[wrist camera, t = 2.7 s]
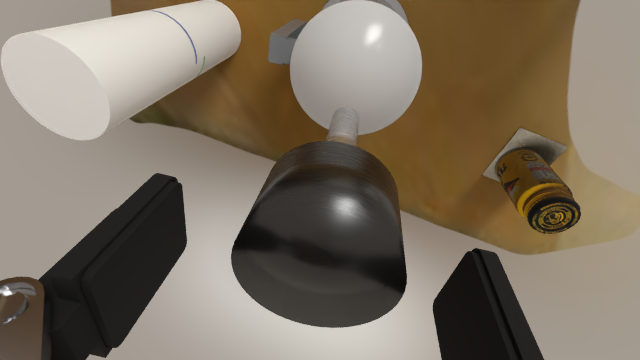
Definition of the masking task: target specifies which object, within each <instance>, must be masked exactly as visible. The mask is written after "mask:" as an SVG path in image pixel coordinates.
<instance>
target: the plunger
mask: <svg viewBox="0 0 640 360" xmlns="http://www.w3.org/2000/svg"><path fill="white" fill-rule="evenodd" d="M358 130H359V115H358V113H357V112H356V111H355V110H354V109H353V108H351V107H341V108H338V109H337V110H336V111H335V112H334V113H333V116H332V119H331V123H330V127H329V130H328V134H327V137H326V141H318V142H312V143H307V144H304V145H301V146H298V147H296V148H294V149H292V150H290V151H289V152H287V153H286V154H284V155H283V156H282V157H281V158H280V159H279V160H278V161H277V162H276V164H275V165H274V167H273V168H272V170H271V172H270V174H269V176H268V178H267V179H266V181H265V184H264V185H263V187H262V189H261V191H260V193H259V195H258V197H257V199H256V201H255V203H254V205H253V207H252V209H251V211H250V213H249V215H248V217H247V219H246V221H245V222H244V225H243V227H242V228H241V230H240V232H239V234H238V236H237V238H236V240H235V242H234V245H233V248H232V254H231V260H232V267H233V271H234V274H235V276H236V278H237V280H238V282H239V283H240V285H241V286H242V288H243V289H244V290H245V291H246V293H248V294H249V295H250V296H251V297H252V298H253V299H254V300H255V301H256V302H258V303H259V304H260V305H262V306H263V307H265V308H266V309H268V310H270V311H271V312H273V313H275V314H277V315H279V316H282V317H284V318H286V319H289V320H292V321H295V322H299V323H302V324H307V325H311V326H318V327H331V328H334V327H350V326H355V325H361V324H364V323H368V322H371V321H373V320H376V319H378V318H380V317H381V316H383V315H385V314H387V313H388V312H389V311H390V310H392V309H393V308H394V307H395V306H396V305H397V304H398V302H399V301H400V299H401V298H402V296H403V294H404V292H405V288H406V284H407V273H406V264H405V255H404V246H403V236H402V228H401V218H400V208H399V199H398V192H397V187H396V184H395V181H394V179H393V177H392V175H391V173H390V172H389V171H388V169H387V168H386V167H385V166H384V165H383V164H382V162H381V161H380V160H378V159H377V158H376V157H374V156H373V155H372V154H370V153H368V152H367V151H365V150H363V149H361V148H358V147H357V140H358Z"/></svg>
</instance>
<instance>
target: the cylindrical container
mask: <svg viewBox="0 0 640 360" xmlns="http://www.w3.org/2000/svg"><path fill="white" fill-rule="evenodd" d="M240 42H241V29H240V25H239V22H238V20H237V18H236V16H235V15H234V14H233V12H232V11H231V10H230V9H229V8H228V7H227V6H226V5H224V4H223V3H221V2H218V1H216V0H202V1H197V2H191V3H186V4H180V5H175V6H169V7H164V8H158V9H153V10H147V11H142V12H136V13H131V14H125V15H120V16H114V17H109V18H103V19H98V20H93V21H87V22H82V23H76V24H70V25H65V26H59V27H54V28H49V29H43V30H38V31H32V32H27V33H22V34H18V35H15V36H13V37H11V38H10V39H9V40H8V41H7V42H6V43H5V45H4V46H3V48H2V53H1V67H2V71H3V75H4V78H5V80H6V82H7V85H8V87H9V88H10V90H11V92H12V94H13V95H14V97H15V98H16V99H17V101H18V102H19V103H20V104H21V106H22V107H23V108H24V109H25V110H26V111H27V112H28V113H29V114H30V115H31V116H32V117H33V118H35V119H36V120H37V121H38V122H39V123H40V124H42V125H44V126H45V127H46V128H48V129H50V130H51V131H53V132H55V133H57V134H59V135H62V136H64V137H67V138H70V139H75V140H91V139H94V138H96V137H98V136H101V135H102V134H104V133H105V132H107V131H109V130H110V129H112V128H114V127H115V126H117V125H119V124H120V123H122V122H123V121H125V120H127V119H129V118H130V117H132V116H133V115H135V114H137V113H138V112H140V111H142V110H143V109H145V108H147V107H148V106H150V105H152V104H153V103H155V102H156V101H158V100H160V99H161V98H163V97H165V96H166V95H168V94H170V93H171V92H173V91H175V90H176V89H178V88H179V87H181V86H183V85H184V84H186V83H188V82H189V81H191V80H193V79H194V78H196V77H198V76H199V75H201V74H203V73H204V72H206V71H207V70H209V69H211V68H212V67H214V66H216V65H217V64H219V63H221V62H222V61H224V60H226V59H227V58H229V57H230V56H232V55H233V54H234V53H235V52H236V51H237V49H238V48H239V45H240Z"/></svg>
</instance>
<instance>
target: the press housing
mask: <svg viewBox="0 0 640 360" xmlns="http://www.w3.org/2000/svg"><path fill="white" fill-rule="evenodd" d="M268 62H272V63H276V64H280V65H283V64H289V65H290V78H291V83H292V88H293V91H294V94H295V96H296V98H297V100H298V102H299V104H300V105H301V107H302V109H303V110H304V111H305V112H306V114H307V115H308V116H309V117H310V118H311V119H313V120H314V121H315V122H316V123H318V124H319V125H321V126H323V127H324V128H326V129H328V130H329V127H330V123H331V119H332V116H333V113H334V112H335V111H336V110H337V109H338V108H341V107H351V108H353V109H354V110H355V111H356V112H357V113H358V115H359V130H358V135H363V134H368V133H372V132H375V131H378V130H381V129H383V128H385V127H387V126H388V125H390V124H392V123H393V122H394V121H396V120H397V119H398V118H399V117H400V116H401V115H402V114H403V113H404V112H405V111H406V110H407V108H408V107H409V106H410V104H411V103H412V101H413V99H414V98H415V95H416V93H417V91H418V88H419V84H420V81H421V75H422V58H421V52H420V48H419V44H418V42H417V39H416V37H415V35H414V33H413V31H412V30H411V28H410V27H409V24H408V20H407V17H406V14H405V12H404V10H403V8H402V6H401V5H400V3H399V2H398V1H397V0H329V1H328V3H327V4H326V5H325V6H324V8H323V9H322V11H321V12H319V13H318V14H317V15H316V16H315V17H313V18H312V19H311V20H310V21H309V22H308V23H306V21H302V20H298V19H293V20H292V21H290V22H288V23H287V24H285V25H283V26H282V27H280V28H279V29H277V30H275V31H274V32H272V33H271V34H270V44H269V56H268Z"/></svg>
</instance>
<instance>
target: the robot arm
mask: <svg viewBox="0 0 640 360" xmlns="http://www.w3.org/2000/svg"><path fill="white" fill-rule="evenodd" d="M186 244H187V236H186V225H185V213H184V203H183V191H182V185H181V183H178V181H177V179H176V178H175V177H172V176H168V175H164V174H159V173H156V174H154V175H153V176H152V177H151V178H150V179H149V180H148V181H147V182H146V183H144V184H143V185H142V186H141V187H140V188H139V189H138V190H137V191H136V192H135V193H134V194H133V195H132V196H130V197H129V198H128V199H127V200H126V201H125V202H124V203H123V204H122V205H121V206H120V207H119V208H117V209H115V210H114V211H113V212H111V213H110V214H109V215H108V216H107V217H106V218H105V219H104V220H103V221H102V222H101V223H99V224H98V225H97V226H96V227H95V228H94V229H93V230H92V231H91V232H90V233H89V234H87V235H86V236H85V237H84V238H83V239H82V240H81V241H80V242H79V243H78V244H77V245H76V246H75V247H73V248H72V249H71V250H70V251H69V252H68V253H67V254H66V255H65V256H64V257H63V258H61V259H60V260H59V261H58V262H57V263H56V264H55V265H54V266H53V267H52V268H51V269H50V270H48V271H47V272H46V273H45V274H44V275H43V276H42V277H41V278H40V279H39V280H37V279H33V278H31V277H14V278H8V279H4V280H1V281H0V360H86V358H87V357H88V356H89V354H92V355H96V356H100V357H105V358H106V357H107V355H108V354H109V352H110V351H111V349H112V348H117V347H118V346H119V345H120V344H121V343H122V342H123V341H124V339H125V338H126V336H127V335H128V333H129V332H130V330H131V329H132V327H133V326H134V324H135V323H136V321H137V320H138V318H139V317H140V315H141V314H142V312H143V311H144V310H145V308H146V306H147V305H148V303H149V302H150V301H151V299H152V298H153V296H154V295H155V293H156V292H157V290H158V289H159V287H160V286H161V284H162V283H163V281H164V280H165V278H166V277H167V275H168V274H169V272H170V271H171V269H172V268H173V266H174V265H175V263H176V262H177V260H178V259H179V257H180V256H181V254H182V253H183V251H184V250H185V247H186ZM433 314H434V319H435V325H436V330H437V336H438V341H439V347H440V352H441V358H442V360H544V358H543V356H542V354H541V352H540V350H539V347H538V345H537V343H536V340H535V338H534V336H533V334H532V332H531V329H530V327H529V325H528V323H527V320H526V318H525V316H524V314H523V311H522V309H521V307H520V305H519V302H518V300H517V298H516V296H515V293H514V291H513V289H512V287H511V284H510V282H509V280H508V278H507V275H506V273H505V271H504V269H503V266H502V264H501V262H500V260H499V257H498V256H497V254H496V253H494V252H490V251H486V250H482V249H477V248H475V249H473V250H472V251H468V252H467V253H466V254H465V255H464V257H463V258H462V260H461V261H460V263H459V264H458V266H457V267H456V269H455V270H454V272H453V273H452V274H451V276H450V278H449V279H448V280H447V282H446V283H445V285H444V286H443V288H442V289H441V291H440V292H439V294H438V295H437V297H436V298H435V300H434V303H433Z"/></svg>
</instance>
